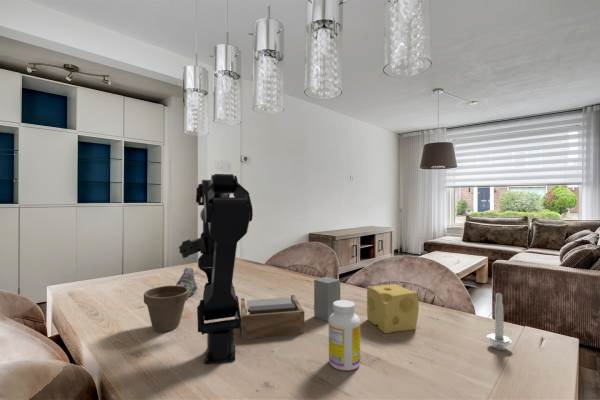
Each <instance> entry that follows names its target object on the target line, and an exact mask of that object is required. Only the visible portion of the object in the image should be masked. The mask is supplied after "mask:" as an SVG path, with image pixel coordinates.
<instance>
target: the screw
mask: <svg viewBox="0 0 600 400" xmlns="http://www.w3.org/2000/svg"><path fill="white" fill-rule="evenodd" d="M504 312H505V311H504V303H503V294H502V293H501V292H497V293H495V304H494V329H493V330H494V333H490V334H488V335H486V339H487V340H488V341H490V342H491V347H492V348H494V349H495V350H497V351H498V350H500V351H505V350H506V349H507V346H509V345H512V340H511V339H510V337H508V336H506V335H504V333H505V332H504V326H505V324H504V323H505V322H504V320H505V319H504V318H505V317H504V315H505V314H504Z"/></svg>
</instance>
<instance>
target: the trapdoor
mask: <svg viewBox="0 0 600 400" xmlns="http://www.w3.org/2000/svg"><path fill="white" fill-rule="evenodd" d="M246 306H247V307H246V308H247V313H249V314H261V313H274V312H287V311H295V306H294V304H293V303H292V302H291V297H275V298H264V299H263V298H262V299H260V298H259V299H249V300H246Z"/></svg>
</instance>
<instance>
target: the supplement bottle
mask: <svg viewBox="0 0 600 400" xmlns="http://www.w3.org/2000/svg"><path fill="white" fill-rule="evenodd" d="M333 310H334V313H333V314H331V315H330V317H329V321H328V361H329V363H330V365H331V366H332V367H333V368H334V369H336V370H339V371H347V372H348V371H353V370H356V369H357V368H359V367H360V365H361V319H360V317H359V316H358V315H357V314H356V313H355V311H356V303H355V302H353V301H352V300H348V299H340V300H338V301H335V302H333Z"/></svg>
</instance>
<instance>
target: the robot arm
mask: <svg viewBox="0 0 600 400" xmlns="http://www.w3.org/2000/svg"><path fill="white" fill-rule="evenodd" d="M195 191H196V193H195V203H196V204H197V205H198V206H203V208H202V209H201V211H200V213H199V214H200V215H199V216H200V219H201V221H202V232H201V234H200V237H198V238H195V239H192V240H191V239H187V240H184V241H182V243H181V244H180V245H179V246H178V249H179V254H181V256H182V259H186V258H188V257H189V256H191V255H194V254H197V253H199V252H200V254H201V255H200V256H199V257H198V259H197V268H198V269H199V270H200V271H202V272H203V273H205V275H206V279H207V282H205V284H204V286H203V287H204V288H203V295H202V299H199V304H198V305H197V307H196V310H197V311H196V312H197V313H196V314H197V315H196V317H197V332H198V333H201V335H205V334H207V335H206V338H207V339H206V344H207V345H206V349H205V355H204V360H203V363H204V364H215V363H224V362H234V361H236V345H235V344H234V330H240V329H241V330H242V324H241V307H240V302H239V297H238V295H236V290H235V286H234V283H233V280H234V279H233V277H234V270H235V265H236V264H235V263H236V254H237V248H238V243H239V242H240V241H241V239H243V238H244V237H245V236H246V235H247V234H248V230H249V224H250V223H251V222H252V221H253V215H254V214H253V212H254V211H253V204H252V200H251V197H250V192H249V191H248V190H247V189H246V188H245V187H243V186H242V184H240V183H239V181H238V177H237V175H234V174H233V173H229V174H228V173H214V174H211V176H210V179H202V180H201V183H198V184H197V187H196V190H195ZM230 195H233V197H230ZM229 318H233V319H229ZM220 319H225V320H220ZM226 319H227V320H226ZM214 320H219V321H214ZM206 321H211V322H206Z"/></svg>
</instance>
